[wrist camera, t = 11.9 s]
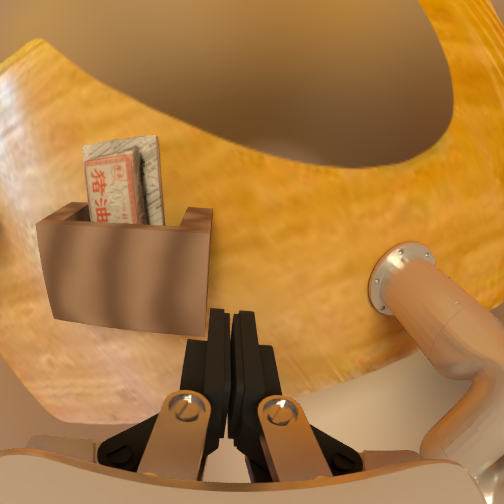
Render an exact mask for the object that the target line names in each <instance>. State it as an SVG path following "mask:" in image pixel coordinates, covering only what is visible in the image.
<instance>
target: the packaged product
mask: <svg viewBox="0 0 504 504" xmlns="http://www.w3.org/2000/svg"><path fill="white" fill-rule="evenodd" d="M82 151H83V166H84V173H85V181H86V190H87V199H88V205H89V212H90V219H91V222H107V223H126V224H144V225H161V226H165V221H164V208H163V195H162V182H161V170H160V157H159V146H158V139H157V136H156V135H146V136H139V137H133V138H127V139H116V140H109V141H103V142H98V143H94V144H90V145H85V146H82Z"/></svg>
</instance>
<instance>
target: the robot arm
mask: <svg viewBox="0 0 504 504" xmlns="http://www.w3.org/2000/svg"><path fill="white" fill-rule="evenodd" d="M368 288H369V297H370V300H371V302H372V304H373V306H374V307H375V308H376V309H377V310H378V311H379V312H380V313H383V314H385V315H390V316H391V315H394V316H395V317H396V318H397V320H398V321H399V322H400V323H401V325H402V326H403V327H404V328H405V330H406V331H407V332H408V333H409V335H410V336H411V337H412V339H413V340H414V341H415V342H416V344H417V345H418V346H419V348H420V349H421V350H422V352H423V353H424V354H425V355H426V357H427V358H428V359H429V361H430V362H431V363H432V365H433V366H434V367H435V369H436V370H437V371H438V372H439V373H440V374H441V375H443V376H445V377H446V378H449V379H453V380H472V385H471V386H470V388H469V389H468V390H467V392H466V393H465V394H464V395H463V397H462V398H461V399H460V400H459V401H458V402H457V403H456V404H455V405H454V406H453V407H452V408H451V409H450V410H449V411H448V412H447V413H446V414H445V415H444V416H443V417H442V418H441V419H440V420H439V421H438V422H437V423H436V424H435V425H434V426H433V427H432V428H431V429H430V430H429V432H428V433H427V434H426V435H425V437H424V438H423V440H422V442H421V446H420V455H419V454H418V453H416V452H414V451H410V450H400V451H366V450H365V451H363V452H362V453H358V452H356V451H355V450H354V449H352V448H350V447H349V446H347V445H345V444H343V443H341V442H340V441H338V440H336V439H334V438H332V437H330V436H329V435H327V434H325V433H324V432H322V431H320V430H319V429H317V428H315V427H314V426H312V425H310V424H309V422H308V420H307V418H306V416H305V413H304V411H303V409H302V407H301V406H300V404H299V403H297V402H296V401H295V400H294V399H292V398H290V397H287V396H283V395H282V392H281V387H280V382H279V377H278V371H277V366H276V361H275V356H274V351H273V347H272V346H271V345H259V344H258V337H257V330H256V323H255V315H254V312H252V311H239V314H234V316H233V323H232V331H231V339H230V313H224V309H216V308H210V318H209V330H208V341H201V340H191V339H188V340H187V346H186V352H185V358H184V364H183V371H182V377H181V384H180V391H176V392H173V393H171V394H170V395H169V396H167V397H166V399H165V401H164V402H163V405H162V407H161V410H160V412H159V413H158V414H156V415H154V416H152V417H151V418H149V419H147V420H145V421H143V422H141V423H139V424H137V425H135V426H133V427H131V428H129V429H127V430H125V431H123V432H121V433H119V434H117V435H115V436H113V437H111V438H109V439H107V440H106V441H104V442H103V443H99V442H94V440H89V439H77V438H66V437H58V436H49V435H36V436H34V437H32V438H31V439H30V440H29V441H28V443H27V446H26V448H12V449H6V450H2V451H0V504H504V324H503V323H502V322H500V320H498V319H497V318H496V317H495V316H494V315H492V314H491V313H490V312H489V311H488V310H487V309H486V308H485V307H484V306H482V305H481V304H480V303H479V302H478V301H477V300H475V299H474V298H473V297H472V296H471V295H470V294H468V293H467V292H466V291H465V290H464V289H463V288H461V287H460V286H459V285H458V284H457V283H455V282H454V281H453V280H452V279H451V278H450V277H449V276H447V275H445V274H444V273H443V272H442V271H440V270H439V269H438V268H437V267H436V263H435V259H434V256H433V254H432V252H431V251H430V250H429V249H428V248H427V247H426V246H424V245H423V244H420V243H418V242H405V243H402V244H399V245H397V246H395V247H393V248H392V249H391V250H389V251H388V252H387V253H386V254H385V255H384V256H383V257H382V258H381V259H380V260H379V262H378V263H377V265H376V266H375V268H374V270H373V272H372V275H371V277H370V281H369V287H368ZM227 415H228V438H229V439H234V446H236V447H237V449H238V450H239V451H240V452H242V453H243V454H244V455H245V462H246V465H247V469H248V473H249V477H250V480H251V483H218V482H203V476H204V472H205V467H206V463H207V457H208V455H209V454H211V453H212V452H213V451H215V450H216V449H218V446H219V438H224V432H225V425H226V418H227ZM501 456H502V457H501Z"/></svg>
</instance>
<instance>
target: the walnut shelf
mask: <svg viewBox="0 0 504 504" xmlns="http://www.w3.org/2000/svg"><path fill="white" fill-rule="evenodd" d="M212 212H213V209H208V208H193V207H188V209H187V211H186V213H185V216H184V218H183V220H182V223H181V225H180V227H177V226H161V225H144V224H126V223H107V222H91V219H90V212H89V205H88V203H78V202H71V203H69V204H68V205H66V206H64V207H62V208H61V209H59V210H57V211H56V212H54V213H52V214H51V215H49V216H48V217H46V218H44V219H43V220H41V221H40V222H38V223H36V231H37V239H38V246H39V252H40V258H41V264H42V269H43V274H44V279H45V284H46V289H47V293H48V297H49V302H50V306H51V309H52V313H53V317H54V319H59V320H64V321H70V322H76V323H82V324H89V325H96V326H103V327H110V328H118V329H126V330H134V331H143V332H153V333H164V334H175V335H188V336H203V337H205V325H206V308H207V292H208V273H209V256H210V240H211V226H212Z"/></svg>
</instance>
